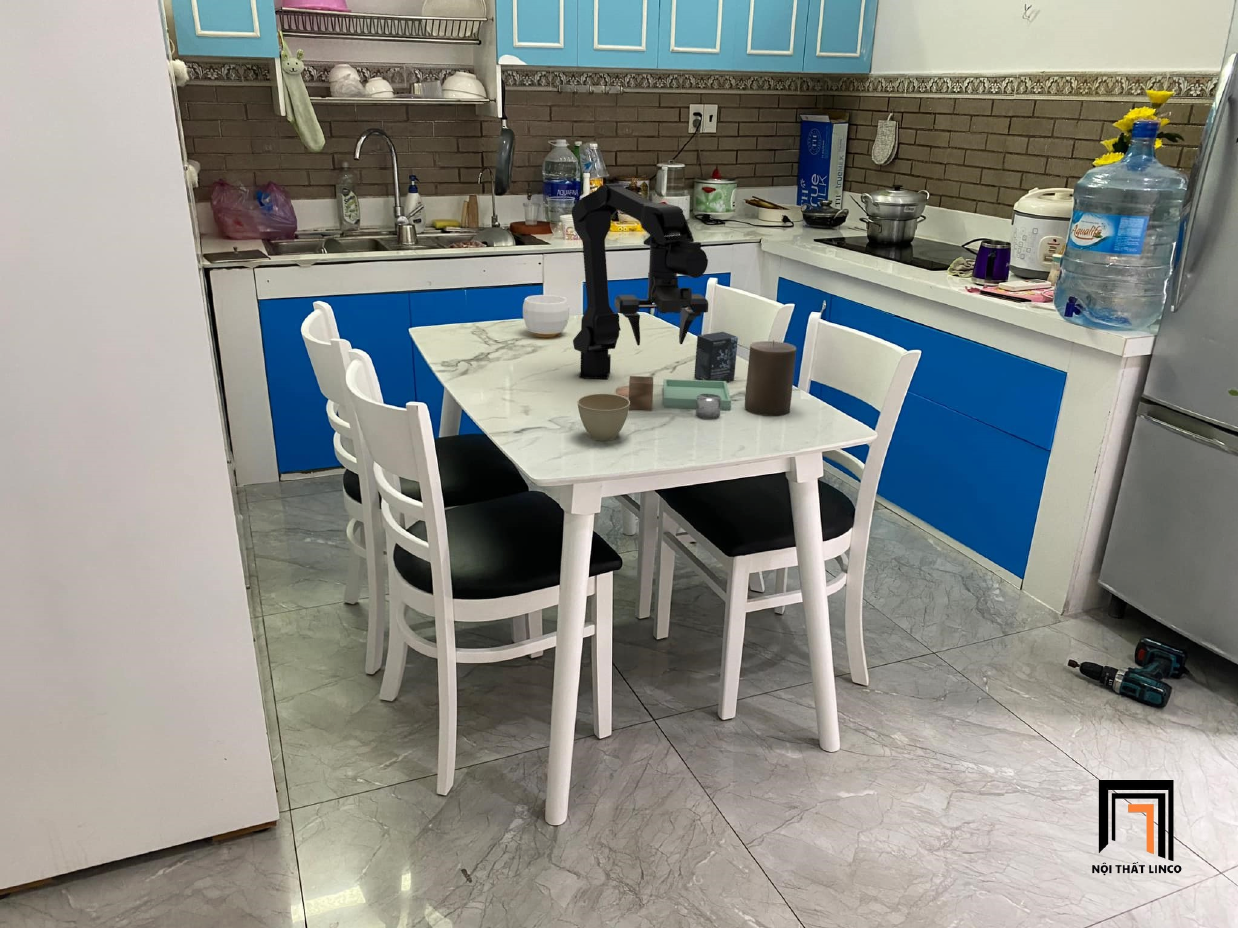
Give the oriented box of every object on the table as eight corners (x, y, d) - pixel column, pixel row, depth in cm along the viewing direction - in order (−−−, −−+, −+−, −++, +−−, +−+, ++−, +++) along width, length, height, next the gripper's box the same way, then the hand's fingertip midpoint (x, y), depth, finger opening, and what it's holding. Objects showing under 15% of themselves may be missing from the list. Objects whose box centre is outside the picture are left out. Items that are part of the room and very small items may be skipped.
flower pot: (575, 427, 185) (576, 393, 182) (626, 427, 185) (627, 393, 183) (578, 446, 175) (578, 409, 173) (631, 445, 176) (632, 409, 174)
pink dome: (615, 398, 204) (615, 394, 204) (616, 388, 211) (616, 385, 210) (647, 399, 204) (647, 395, 204) (647, 389, 210) (647, 386, 210)
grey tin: (696, 419, 192) (697, 400, 190) (695, 411, 196) (696, 393, 195) (720, 420, 192) (721, 401, 190) (718, 412, 196) (720, 394, 195)
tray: (663, 407, 198) (664, 398, 197) (663, 387, 211) (663, 378, 210) (730, 410, 198) (731, 400, 197) (725, 390, 210) (726, 381, 210)
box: (708, 385, 214) (711, 340, 210) (693, 379, 218) (696, 334, 214) (735, 380, 218) (738, 336, 214) (719, 374, 222) (723, 330, 218)
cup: (567, 341, 246) (567, 305, 243) (520, 340, 246) (520, 303, 243) (570, 330, 258) (570, 295, 254) (525, 328, 258) (525, 293, 254)
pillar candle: (780, 419, 193) (788, 348, 188) (736, 410, 197) (743, 340, 192) (796, 407, 201) (804, 339, 196) (753, 399, 205) (760, 332, 200)
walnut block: (628, 410, 196) (629, 382, 193) (628, 402, 200) (629, 376, 198) (652, 411, 196) (653, 383, 193) (652, 403, 200) (653, 376, 198)
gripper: (626, 277, 182) (624, 355, 188) (718, 277, 186) (713, 353, 191) (615, 267, 192) (613, 341, 198) (702, 267, 196) (698, 339, 202)
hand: (659, 344), depth 197 cm, fingers open, 9 cm apart
